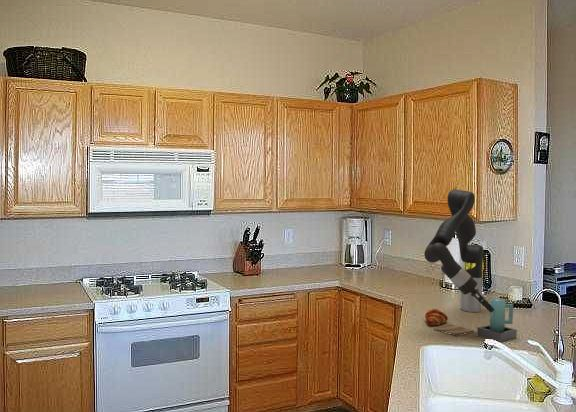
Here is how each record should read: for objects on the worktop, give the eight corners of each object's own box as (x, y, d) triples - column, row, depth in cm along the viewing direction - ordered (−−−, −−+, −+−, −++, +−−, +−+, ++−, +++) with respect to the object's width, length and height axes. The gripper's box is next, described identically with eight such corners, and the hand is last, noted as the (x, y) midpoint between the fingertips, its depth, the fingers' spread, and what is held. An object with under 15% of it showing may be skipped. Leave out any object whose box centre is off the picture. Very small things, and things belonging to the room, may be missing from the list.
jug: (490, 338, 235) (491, 300, 235) (487, 334, 241) (488, 297, 241) (513, 339, 234) (514, 301, 233) (509, 335, 240) (511, 298, 239)
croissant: (435, 323, 272) (427, 308, 274) (454, 316, 268) (446, 300, 269) (424, 333, 253) (416, 316, 255) (444, 325, 249) (436, 308, 251)
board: (433, 330, 248) (433, 328, 248) (451, 326, 255) (451, 324, 255) (456, 336, 238) (456, 334, 238) (473, 332, 245) (473, 330, 245)
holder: (477, 335, 239) (477, 327, 239) (493, 331, 246) (493, 323, 246) (500, 342, 230) (500, 333, 230) (516, 337, 237) (516, 329, 236)
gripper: (472, 277, 231) (501, 306, 230) (467, 272, 245) (493, 299, 244) (459, 290, 232) (487, 318, 231) (454, 283, 246) (480, 310, 245)
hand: (490, 308), depth 238 cm, fingers open, 8 cm apart
